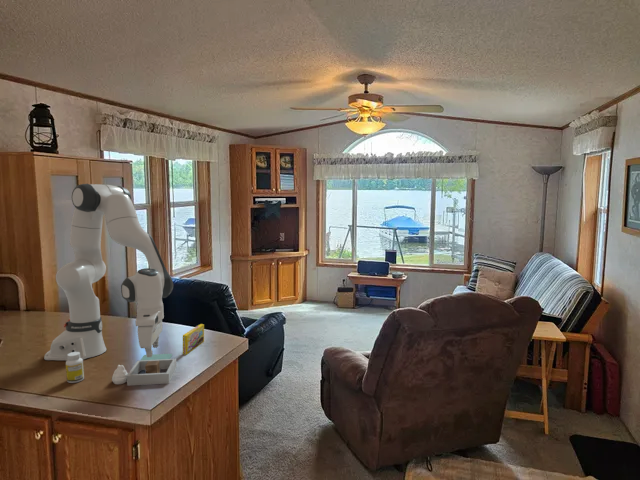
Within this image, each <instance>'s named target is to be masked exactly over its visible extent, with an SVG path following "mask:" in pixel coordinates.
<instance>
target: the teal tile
mask: <svg viewBox="0 0 640 480" xmlns="http://www.w3.org/2000/svg"><path fill="white" fill-rule="evenodd" d="M172 357H173V353H157V354H155V353H154V354H153V355H152V357H147V356H146V354H143V356H142V357H141V358H140V360H159V359H172Z"/></svg>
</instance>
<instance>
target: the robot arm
mask: <svg viewBox="0 0 640 480" xmlns="http://www.w3.org/2000/svg"><path fill="white" fill-rule="evenodd" d="M71 203H72V204H73V207H74V210H73V213H72V218H71V224H70V225H71V226H70V235H69V236H70V237H69V244H70V247H71V248H72V250H73V255H74V260H73V261H71V262H67V263H66V264H64V265H62V266H61V267H60V268H58V270H57V272H56V274H55V282H56V283H57V286H58V287H60V288H61V289H62V290H63V291H64V294H65V296H66V299H67V303H68V310H69V312H68V313H69V319H68V320H67V321H65V323H64V324H63V328H65V330H64V331H63V332H62V333H60V334H59V335H57V336H56V337H55V338H54V339H53V340H52V342H51V344H50V350H48V351H47V352H46V353H45V354H44V355H43V356H44V357H43V358H44V360H45V361H67V360H68V358H67V354H69V353H72V352H80V358H82V359H83V361H84V360H86V359H89V358H93V357H96V356H99V355H102V354H103V353H105V352H106V351H107V347H106V344H105V341H104V338H103V337H104V336H103V322H102V317H101V311H100V306H101V305H100V299H99V297H98V296H96V293H95V292H94V288H93V284H94V283H97V282H98V281H100V280H101V279H102V278H103V277H104V275H106V272H107V266H106V263H105V261H104V260H103V255H102V249H101V248H102V247H101V245H102V244H101V243H102V233H103V232H102V231H103V221H104V220H103V219H104V217H105V223H106V227H107V231H108V235H109V237H110V238H111V239H112V241H113V242H115V243H117V244H118V245H121V246H123V247H128V248H131V249H132V248H133V249H135V250H138V251H140V252H141V253H142V254H143V255H144V257H145V259H146V261H147V263H148V265H149V268H148V267H147V268H146V267H145V268H141V269H138V270H137V271H136V273H135V274H134V275H132V276H127V277H126V278H125V279H124V280H123V282H122V283H121V285H120V292H121V297H122V298H123V299H124V300H125V301H126V302H128V303H137V305H136V319H135V327H137V339H138V345H139V347H140V349H144V351H145V355H146V356H147V357H152V355H154V354H153V353H154V351H153V349H155V348H159V340H160V335H161V333H162V332H163V319H164V317H165V315H164V314H165V313H164V303H163V299H166V298H168V297H169V296H170V294H171V293H172V292H173V290H174V281H173V278H172V276H171V275H170V273H169V271H168V270H167V268H166V266H165V263H164V262H163V259H162V255H161V253H160V252H159V250H158V247H157V245H156V243H155V240H154V238H153V237H152V235H151V234H150V233H148V232H147V231H146V230H144V229H143V227H142V225H141V224H140V221H139V218H138V213H137V211H136V208H135V206H134V204H133V201H132V194H131V192H130V191H129V189H127V188H126V187H124V186H120V185H112V184H104V183H102V184H99V183H96V184H95V183H82V184H81V183H80V184H77V185H76V186H74V189H73V190H72V192H71ZM152 348H153V349H152Z"/></svg>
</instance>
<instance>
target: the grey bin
mask: <svg viewBox="0 0 640 480" xmlns="http://www.w3.org/2000/svg"><path fill="white" fill-rule="evenodd" d="M148 361H159V364H160V370H166V371H165V372H160V373H150V374H146V373H140V371H146V370H145V365H146V364H147V362H148ZM176 369H177V358H171V359H159V360H141V359H140V360H139V359H138V360H137V361H136V362H135V363H134V364H133V366H132V368H131V369H130V371H129V372H127V373H128V375H127V382H126V386H128V387H129V386H141V385H142V386H145V385H159V384H160V385H162V384H163V385H164V384H165V385H166V384H170V382H171V380H172V378H173V376H174V374H175V372H176Z"/></svg>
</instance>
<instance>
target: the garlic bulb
mask: <svg viewBox="0 0 640 480" xmlns="http://www.w3.org/2000/svg"><path fill="white" fill-rule="evenodd" d="M128 373H129V372H128V371H127V369H126V368H125V366H124V365H123V364H121V365H120V364H118V365H117V368H116V369H115V370H114V371H113V374H112V377H111V381H112V383H113V384H115V385H122V384H125V383H127V375H128Z"/></svg>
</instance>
